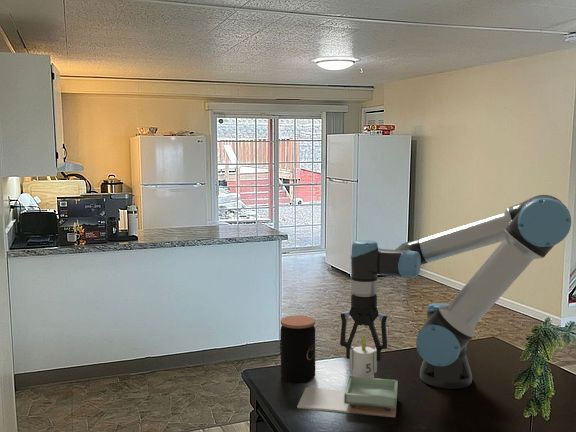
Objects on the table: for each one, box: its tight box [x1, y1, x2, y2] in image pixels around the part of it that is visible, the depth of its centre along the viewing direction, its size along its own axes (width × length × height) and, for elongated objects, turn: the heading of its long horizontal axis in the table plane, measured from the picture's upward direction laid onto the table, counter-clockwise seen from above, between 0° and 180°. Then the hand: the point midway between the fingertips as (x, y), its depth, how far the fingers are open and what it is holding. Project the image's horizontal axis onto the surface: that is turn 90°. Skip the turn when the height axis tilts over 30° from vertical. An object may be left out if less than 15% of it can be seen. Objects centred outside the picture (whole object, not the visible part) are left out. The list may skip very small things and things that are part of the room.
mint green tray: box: [344, 375, 399, 411], centre depth 148 cm, size 13×12×4 cm
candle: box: [352, 334, 375, 378], centre depth 161 cm, size 6×6×15 cm
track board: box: [297, 386, 398, 418], centre depth 149 cm, size 26×13×1 cm, turn 77°
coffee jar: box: [280, 315, 316, 384], centre depth 166 cm, size 11×11×18 cm
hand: (363, 369), depth 161 cm, fingers closed on candle, 6 cm apart
